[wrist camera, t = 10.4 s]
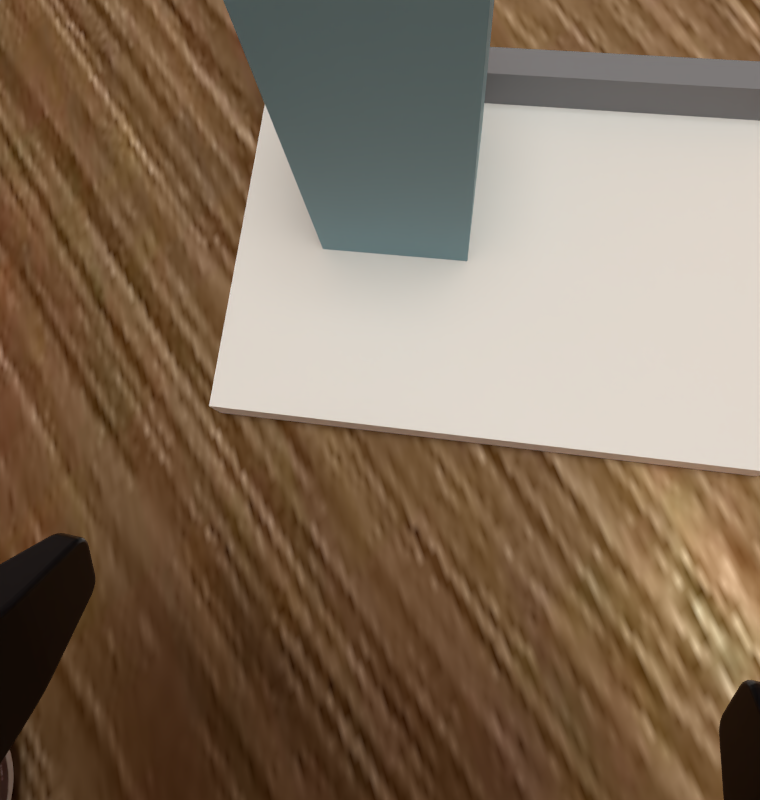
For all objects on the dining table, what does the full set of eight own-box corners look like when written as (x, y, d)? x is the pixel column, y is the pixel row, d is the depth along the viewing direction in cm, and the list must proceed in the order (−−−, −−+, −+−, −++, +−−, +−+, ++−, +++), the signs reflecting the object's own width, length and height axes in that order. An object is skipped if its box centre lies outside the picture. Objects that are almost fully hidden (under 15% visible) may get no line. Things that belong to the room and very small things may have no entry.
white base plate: (755, 476, 22) (799, 466, 20) (220, 412, 24) (192, 395, 22) (765, 117, 25) (805, 64, 22) (279, 86, 27) (261, 34, 24)
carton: (467, 261, 24) (496, -73, 11) (322, 249, 24) (190, -83, 11) (482, 125, 25) (525, -326, 12) (343, 116, 25) (242, -323, 12)
